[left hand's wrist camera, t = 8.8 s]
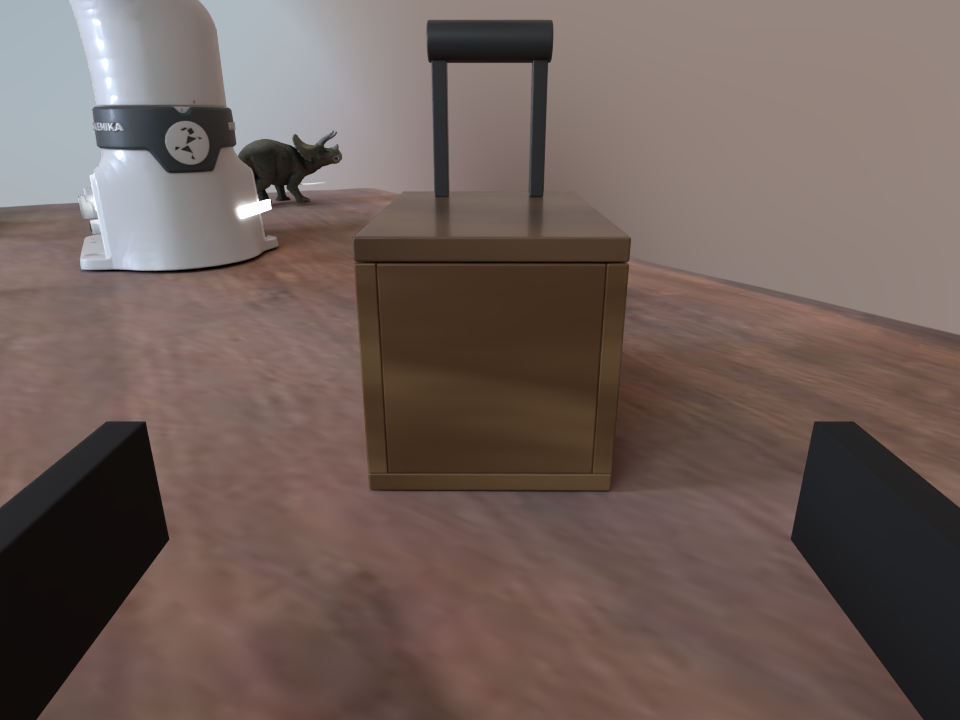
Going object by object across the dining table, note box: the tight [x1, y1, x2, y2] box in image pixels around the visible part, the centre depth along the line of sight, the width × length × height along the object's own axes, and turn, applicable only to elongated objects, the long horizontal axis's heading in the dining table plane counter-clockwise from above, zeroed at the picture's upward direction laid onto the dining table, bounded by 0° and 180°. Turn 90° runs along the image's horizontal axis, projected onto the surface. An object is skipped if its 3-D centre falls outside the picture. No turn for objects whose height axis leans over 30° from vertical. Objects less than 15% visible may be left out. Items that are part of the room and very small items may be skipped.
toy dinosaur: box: [238, 131, 342, 203], centre depth 102 cm, size 22×8×11 cm, turn 131°
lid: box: [352, 20, 631, 262], centre depth 27 cm, size 14×9×9 cm, turn 0°
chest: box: [354, 262, 629, 491], centre depth 29 cm, size 14×9×9 cm
